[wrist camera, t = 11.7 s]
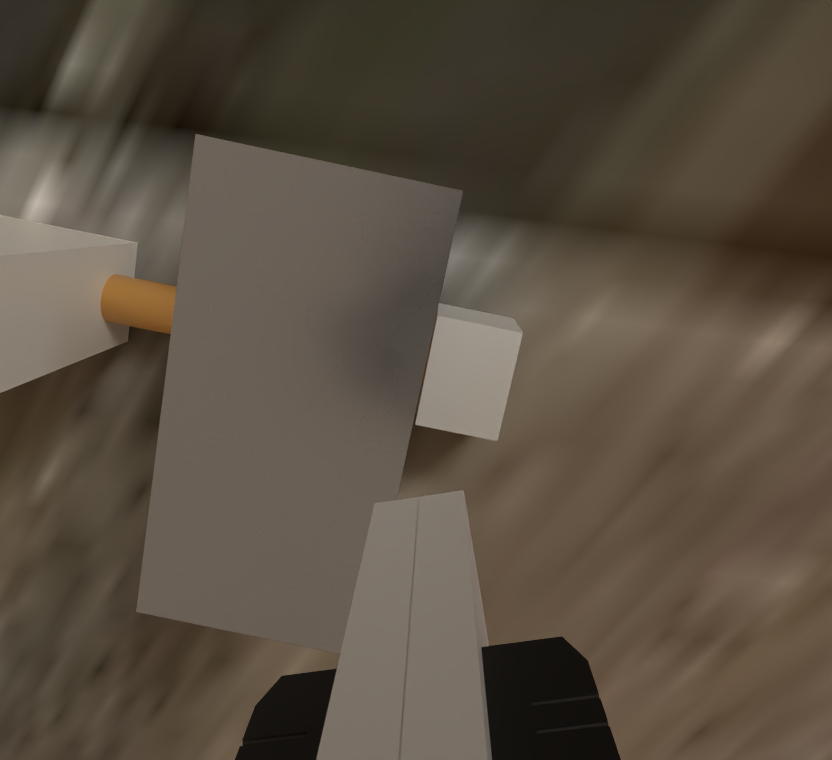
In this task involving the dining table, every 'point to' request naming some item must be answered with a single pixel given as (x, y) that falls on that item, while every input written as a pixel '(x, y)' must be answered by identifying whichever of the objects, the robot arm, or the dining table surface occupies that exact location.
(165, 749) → the dining table surface
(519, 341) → the white and wooden mallet
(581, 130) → the dining table surface
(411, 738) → the robot arm
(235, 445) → the housing
